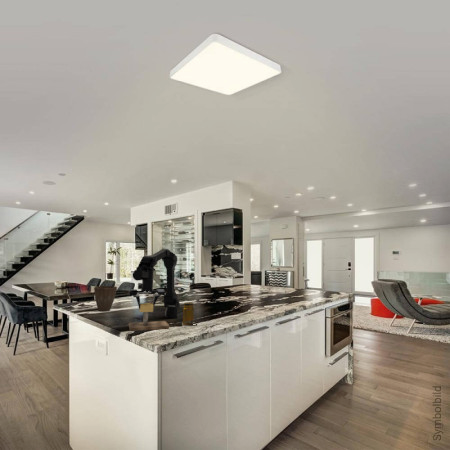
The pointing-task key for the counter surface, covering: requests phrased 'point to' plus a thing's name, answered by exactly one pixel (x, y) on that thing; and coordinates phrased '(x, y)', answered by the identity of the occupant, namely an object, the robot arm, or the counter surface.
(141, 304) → the open wall cube
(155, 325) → the board
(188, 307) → the condiment
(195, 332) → the counter surface
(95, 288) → the plant pot
